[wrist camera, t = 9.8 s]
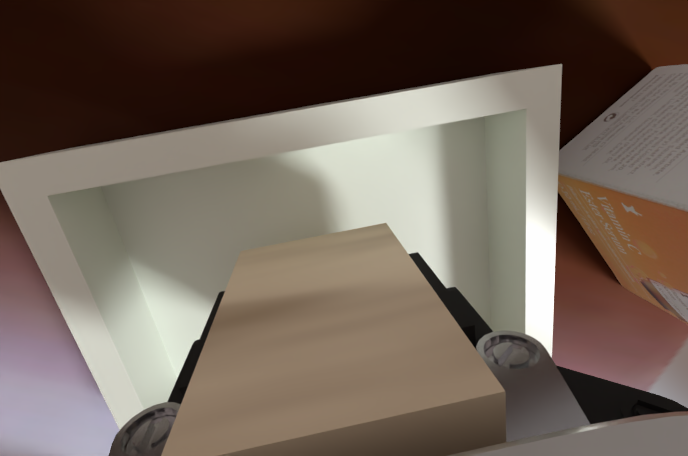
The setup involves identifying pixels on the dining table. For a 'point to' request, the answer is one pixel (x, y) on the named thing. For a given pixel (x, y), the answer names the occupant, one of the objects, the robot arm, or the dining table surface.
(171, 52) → the dining table surface
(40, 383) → the dining table surface
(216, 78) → the dining table surface
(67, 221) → the tray
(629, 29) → the dining table surface
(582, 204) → the small box
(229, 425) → the birch block
